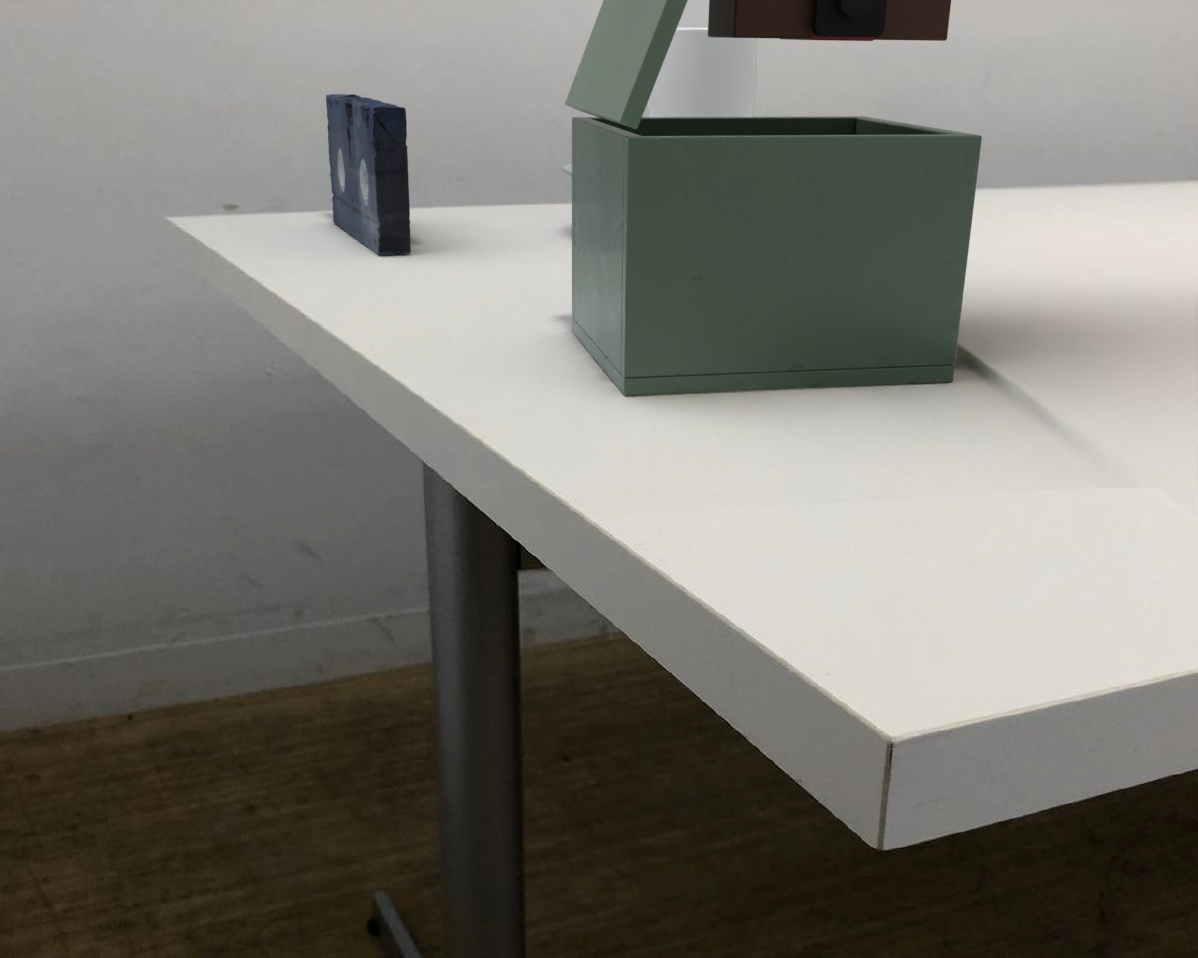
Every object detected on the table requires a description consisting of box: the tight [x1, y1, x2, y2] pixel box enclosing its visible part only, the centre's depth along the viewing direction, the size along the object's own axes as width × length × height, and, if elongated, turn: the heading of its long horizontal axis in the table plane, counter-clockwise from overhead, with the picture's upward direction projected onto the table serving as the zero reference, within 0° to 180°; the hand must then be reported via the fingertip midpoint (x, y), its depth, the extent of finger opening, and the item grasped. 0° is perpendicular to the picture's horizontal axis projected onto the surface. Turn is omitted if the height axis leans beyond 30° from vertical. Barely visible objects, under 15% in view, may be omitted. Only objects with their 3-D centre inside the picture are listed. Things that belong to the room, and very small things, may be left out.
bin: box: [571, 115, 983, 397], centre depth 63 cm, size 16×14×11 cm
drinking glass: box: [647, 26, 758, 117], centre depth 83 cm, size 7×7×15 cm
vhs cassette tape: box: [325, 93, 412, 256], centre depth 99 cm, size 18×3×10 cm, turn 19°
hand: (826, 31), depth 60 cm, fingers closed on chocolate bar, 4 cm apart
